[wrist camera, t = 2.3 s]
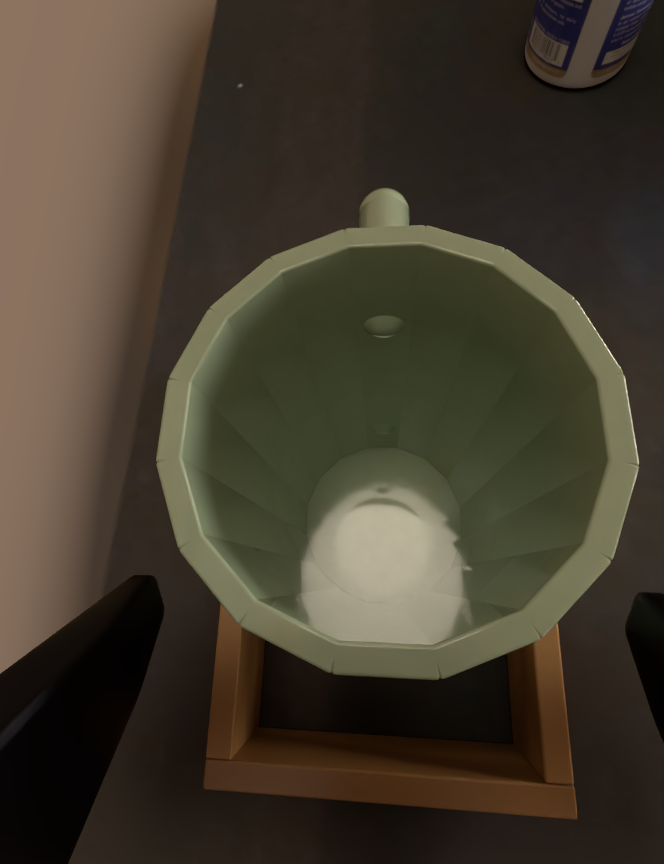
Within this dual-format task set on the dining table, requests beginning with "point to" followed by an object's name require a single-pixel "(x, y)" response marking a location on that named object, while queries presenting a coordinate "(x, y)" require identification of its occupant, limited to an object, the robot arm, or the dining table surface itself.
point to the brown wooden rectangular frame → (394, 745)
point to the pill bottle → (582, 39)
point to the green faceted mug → (397, 450)
